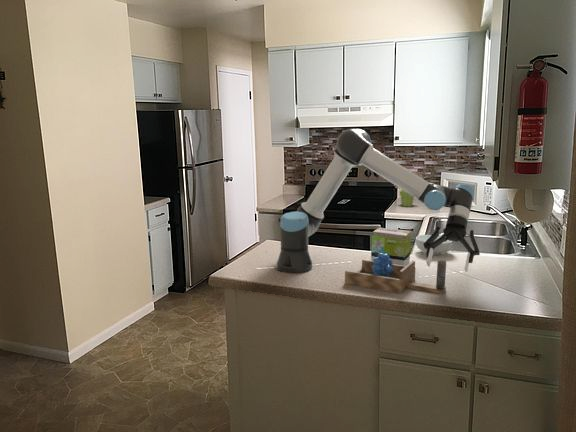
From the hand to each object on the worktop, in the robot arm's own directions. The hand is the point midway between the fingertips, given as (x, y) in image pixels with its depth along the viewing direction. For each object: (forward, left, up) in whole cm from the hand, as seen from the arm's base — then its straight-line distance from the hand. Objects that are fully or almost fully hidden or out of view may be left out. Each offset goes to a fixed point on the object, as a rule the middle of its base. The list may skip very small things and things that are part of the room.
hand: (446, 267), depth 180 cm
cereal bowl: (+27, +45, -9) cm, 53 cm away
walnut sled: (-14, +11, -9) cm, 20 cm away
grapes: (-17, +15, -9) cm, 25 cm away
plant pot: (+85, +158, -9) cm, 179 cm away
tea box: (-1, +37, -9) cm, 38 cm away
